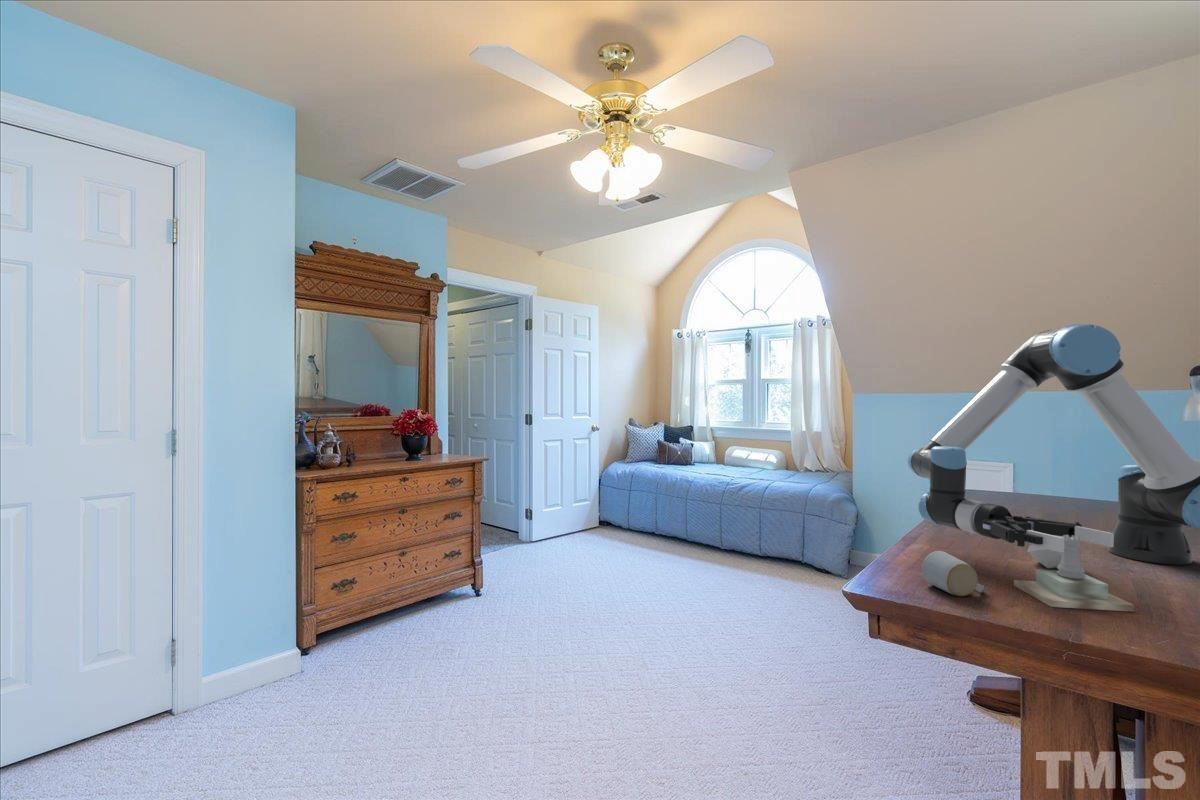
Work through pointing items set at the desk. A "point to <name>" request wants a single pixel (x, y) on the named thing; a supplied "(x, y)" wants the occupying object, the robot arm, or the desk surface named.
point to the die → (1046, 556)
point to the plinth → (1070, 601)
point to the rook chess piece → (1071, 559)
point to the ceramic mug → (950, 574)
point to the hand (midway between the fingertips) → (1088, 542)
